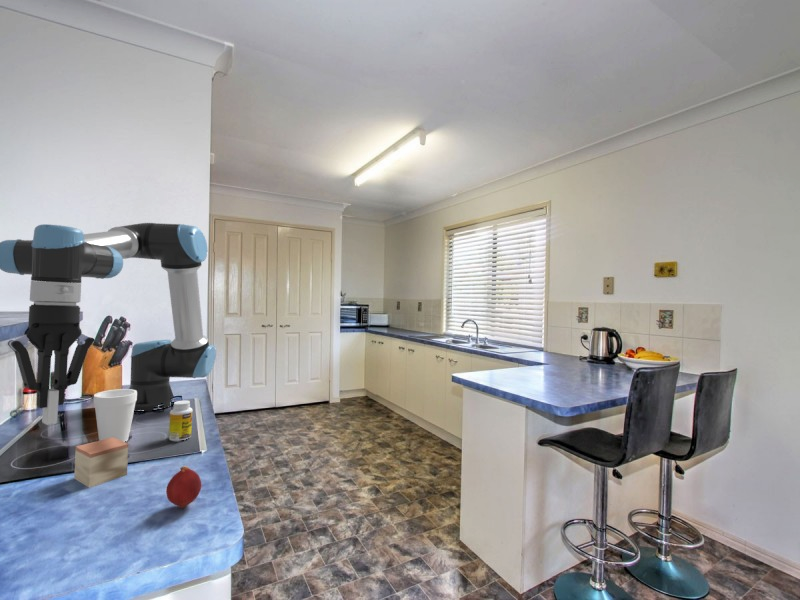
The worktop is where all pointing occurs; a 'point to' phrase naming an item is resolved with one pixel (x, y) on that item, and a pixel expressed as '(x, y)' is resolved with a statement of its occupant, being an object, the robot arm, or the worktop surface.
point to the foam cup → (115, 413)
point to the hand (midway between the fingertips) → (49, 422)
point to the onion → (183, 487)
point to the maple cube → (101, 461)
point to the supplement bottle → (180, 421)
